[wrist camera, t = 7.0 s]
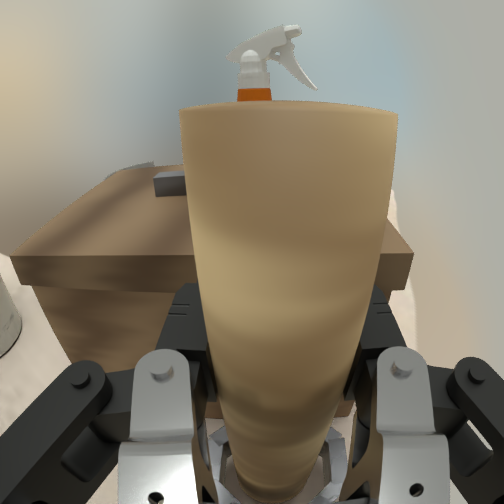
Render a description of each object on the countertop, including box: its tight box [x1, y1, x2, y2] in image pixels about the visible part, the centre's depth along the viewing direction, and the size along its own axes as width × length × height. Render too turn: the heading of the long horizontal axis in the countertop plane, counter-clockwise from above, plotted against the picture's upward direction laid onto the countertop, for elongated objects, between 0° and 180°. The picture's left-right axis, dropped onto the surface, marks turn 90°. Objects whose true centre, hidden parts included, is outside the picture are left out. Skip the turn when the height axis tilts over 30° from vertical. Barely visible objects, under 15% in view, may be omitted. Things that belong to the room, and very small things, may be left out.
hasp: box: [208, 425, 348, 504], centre depth 11 cm, size 7×8×8 cm
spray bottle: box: [226, 25, 317, 102], centre depth 33 cm, size 7×11×26 cm, turn 63°
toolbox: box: [10, 164, 414, 419], centre depth 21 cm, size 19×15×14 cm
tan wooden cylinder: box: [179, 101, 398, 503], centre depth 9 cm, size 4×4×16 cm
